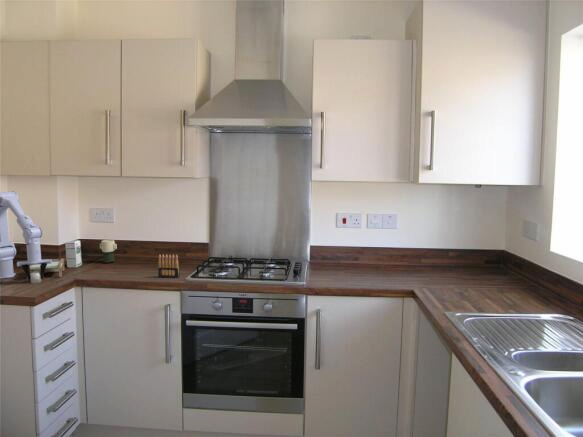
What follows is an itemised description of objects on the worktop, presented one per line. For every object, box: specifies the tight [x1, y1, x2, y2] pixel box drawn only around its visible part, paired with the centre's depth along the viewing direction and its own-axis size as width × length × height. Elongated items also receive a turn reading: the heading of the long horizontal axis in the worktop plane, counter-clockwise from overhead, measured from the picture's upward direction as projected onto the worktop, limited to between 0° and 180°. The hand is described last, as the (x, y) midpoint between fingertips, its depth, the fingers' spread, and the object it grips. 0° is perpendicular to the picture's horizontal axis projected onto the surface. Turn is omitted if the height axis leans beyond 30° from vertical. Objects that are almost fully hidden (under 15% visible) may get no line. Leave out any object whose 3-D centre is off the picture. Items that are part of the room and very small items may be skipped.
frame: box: [26, 257, 65, 281], centre depth 224 cm, size 15×16×7 cm
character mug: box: [99, 239, 118, 264], centre depth 253 cm, size 11×7×13 cm, turn 79°
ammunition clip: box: [158, 253, 181, 279], centre depth 219 cm, size 11×2×12 cm, turn 84°
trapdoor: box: [30, 258, 60, 270], centre depth 224 cm, size 13×12×2 cm
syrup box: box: [64, 239, 83, 268], centre depth 243 cm, size 6×6×14 cm
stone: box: [29, 271, 43, 284], centre depth 211 cm, size 5×5×5 cm
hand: (35, 279), depth 211 cm, fingers closed on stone, 5 cm apart
